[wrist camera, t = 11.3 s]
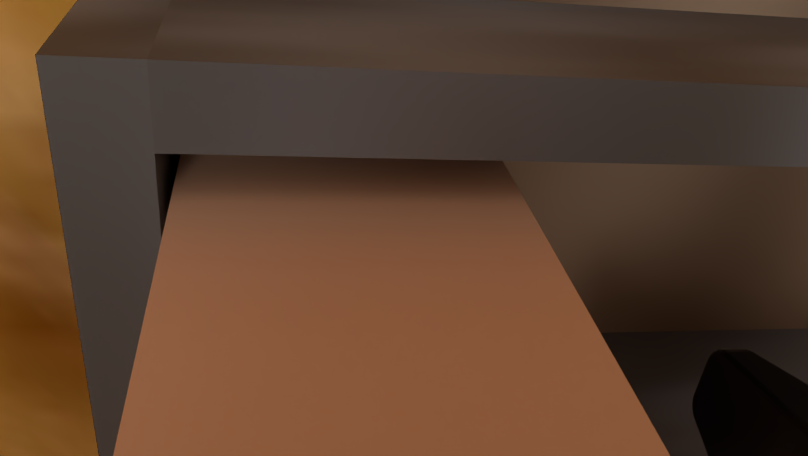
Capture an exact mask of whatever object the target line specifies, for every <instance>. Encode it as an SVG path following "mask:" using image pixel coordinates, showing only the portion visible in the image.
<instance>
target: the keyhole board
mask: <svg viewBox="0 0 808 456" xmlns="http://www.w3.org/2000/svg"><path fill="white" fill-rule="evenodd" d="M35 57H36V63H37V69H38V75H39V82H40V88H41V94H42V101H43V107H44V113H45V119H46V126H47V132H48V138H49V145H50V151H51V157H52V164H53V170H54V176H55V182H56V189H57V195H58V201H59V208H60V214H61V220H62V227H63V233H64V239H65V245H66V252H67V258H68V264H69V271H70V277H71V283H72V289H73V296H74V302H75V308H76V315H77V321H78V327H79V334H80V340H81V346H82V352H83V359H84V365H85V371H86V378H87V384H88V390H89V397H90V403H91V409H92V415H93V422H94V428H95V434H96V441H97V447H98V453H99V456H113V454H114V449H115V445H116V441H117V436H118V432H119V427H120V423H121V418H122V414H123V409H124V405H125V400H126V396H127V391H128V387H129V382H130V378H131V373H132V369H133V365H134V360H135V356H136V351H137V347H138V342H139V338H140V333H141V329H142V324H143V320H144V315H145V311H146V306H147V302H148V297H149V293H150V289H151V284H152V280H153V275H154V271H155V266H156V262H157V257H158V253H159V248H160V244H161V239H162V235H163V230H164V226H165V221H166V217H167V213H168V208H169V204H170V199H171V195H172V190H173V186H174V181H175V177H176V172H177V168H178V163H179V159H180V154H201V155H248V156H296V157H343V158H390V159H438V160H485V161H503V162H504V164H505V166H506V168H507V169H508V171H509V173H510V175H511V176H512V178H513V180H514V182H515V184H516V185H517V187H518V189H519V191H520V192H521V194H522V196H523V198H524V199H525V201H526V203H527V205H528V206H529V208H530V210H531V212H532V213H533V215H534V217H535V219H536V220H537V222H538V224H539V226H540V228H541V229H542V231H543V233H544V235H545V236H546V238H547V240H548V242H549V243H550V245H551V247H552V249H553V250H554V252H555V254H556V256H557V257H558V259H559V261H560V263H561V264H562V266H563V268H564V270H565V271H566V273H567V275H568V277H569V279H570V280H571V282H572V284H573V286H574V287H575V289H576V291H577V293H578V294H579V296H580V298H581V300H582V301H583V303H584V305H585V307H586V308H587V310H588V312H589V314H590V315H591V317H592V319H593V321H594V323H595V324H596V326H597V328H598V330H599V331H600V333H601V335H602V337H603V338H604V340H605V342H606V344H607V345H608V347H609V349H610V351H611V352H612V354H613V356H614V358H615V359H616V361H617V363H618V365H619V367H620V368H621V370H622V372H623V374H624V375H625V377H626V379H627V381H628V382H629V384H630V386H631V388H632V389H633V391H634V393H635V395H636V396H637V398H638V400H639V402H640V403H641V405H642V407H643V409H644V411H645V412H646V414H647V416H648V418H649V419H650V421H651V423H652V425H653V426H654V428H655V430H656V432H657V433H658V435H659V437H660V439H661V440H662V442H663V444H664V446H665V447H666V449H667V451H668V453H669V454H670V456H708V455H707V452H706V449H705V447H704V444H703V441H702V438H701V436H700V433H699V430H698V427H697V424H696V422H695V419H694V415H693V410H692V401H693V396H694V393H695V390H696V388H697V385H698V383H699V380H700V378H701V375H702V373H703V370H704V368H705V365H706V363H707V360H708V358H709V356H710V354H711V353H713V352H714V351H715V350H717V349H729V348H744V349H748V350H751V351H753V352H754V353H756V354H758V355H759V356H761V357H763V358H765V359H766V360H768V361H770V362H771V363H773V364H775V365H776V366H778V367H780V368H781V369H783V370H785V371H786V372H788V373H790V374H791V375H793V376H795V377H797V378H798V379H800V380H802V381H803V382H805V383H807V384H808V0H77V2H76V3H75V4H74V6H73V7H72V8H71V9H70V11H69V12H68V13H67V15H66V16H65V17H64V18H63V20H62V21H61V22H60V24H59V25H58V26H57V27H56V29H55V30H54V31H53V33H52V34H51V35H50V36H49V38H48V39H47V40H46V42H45V43H44V44H43V45H42V47H41V48H40V49H39V51H38V52H37V53H36V54H35Z"/></svg>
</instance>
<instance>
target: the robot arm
mask: <svg viewBox="0 0 808 456" xmlns="http://www.w3.org/2000/svg"><path fill="white" fill-rule="evenodd" d="M692 410H693V415H694V419H695V422H696V424H697V427H698V430H699V433H700V436H701V438H702V441H703V444H704V447H705V449H706V452H707V455H708V456H808V384H807V383H805V382H803V381H802V380H800V379H798V378H797V377H795V376H793V375H791V374H790V373H788V372H786V371H785V370H783V369H781V368H780V367H778V366H776V365H775V364H773V363H771V362H770V361H768V360H766V359H765V358H763V357H761V356H759V355H758V354H756V353H754V352H753V351H751V350H748V349H744V348H729V349H717V350H715V351H714V352H713V353H711V354H710V356H709V358H708V360H707V363H706V365H705V368H704V370H703V373H702V375H701V378H700V380H699V383H698V385H697V388H696V390H695V393H694V396H693V401H692Z"/></svg>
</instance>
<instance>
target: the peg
mask: <svg viewBox="0 0 808 456" xmlns="http://www.w3.org/2000/svg"><path fill="white" fill-rule="evenodd" d="M113 456H670V454H669V453H668V451H667V449H666V447H665V446H664V444H663V442H662V440H661V439H660V437H659V435H658V433H657V432H656V430H655V428H654V426H653V425H652V423H651V421H650V419H649V418H648V416H647V414H646V412H645V411H644V409H643V407H642V405H641V403H640V402H639V400H638V398H637V396H636V395H635V393H634V391H633V389H632V388H631V386H630V384H629V382H628V381H627V379H626V377H625V375H624V374H623V372H622V370H621V368H620V367H619V365H618V363H617V361H616V359H615V358H614V356H613V354H612V352H611V351H610V349H609V347H608V345H607V344H606V342H605V340H604V338H603V337H602V335H601V333H600V331H599V330H598V328H597V326H596V324H595V323H594V321H593V319H592V317H591V315H590V314H589V312H588V310H587V308H586V307H585V305H584V303H583V301H582V300H581V298H580V296H579V294H578V293H577V291H576V289H575V287H574V286H573V284H572V282H571V280H570V279H569V277H568V275H567V273H566V271H565V270H564V268H563V266H562V264H561V263H560V261H559V259H558V257H557V256H556V254H555V252H554V250H553V249H552V247H551V245H550V243H549V242H548V240H547V238H546V236H545V235H544V233H543V231H542V229H541V228H540V226H539V224H538V222H537V220H536V219H535V217H534V215H533V213H532V212H531V210H530V208H529V206H528V205H527V203H526V201H525V199H524V198H523V196H522V194H521V192H520V191H519V189H518V187H517V185H516V184H515V182H514V180H513V178H512V176H511V175H510V173H509V171H508V169H507V168H506V166H505V164H504V162H503V161H485V160H438V159H390V158H343V157H296V156H248V155H201V154H180V159H179V163H178V168H177V172H176V177H175V181H174V186H173V190H172V195H171V199H170V204H169V208H168V213H167V217H166V221H165V226H164V230H163V235H162V239H161V244H160V248H159V253H158V257H157V262H156V266H155V271H154V275H153V280H152V284H151V289H150V293H149V297H148V302H147V306H146V311H145V315H144V320H143V324H142V329H141V333H140V338H139V342H138V347H137V351H136V356H135V360H134V365H133V369H132V373H131V378H130V382H129V387H128V391H127V396H126V400H125V405H124V409H123V414H122V418H121V423H120V427H119V432H118V436H117V441H116V445H115V449H114V454H113Z"/></svg>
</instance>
